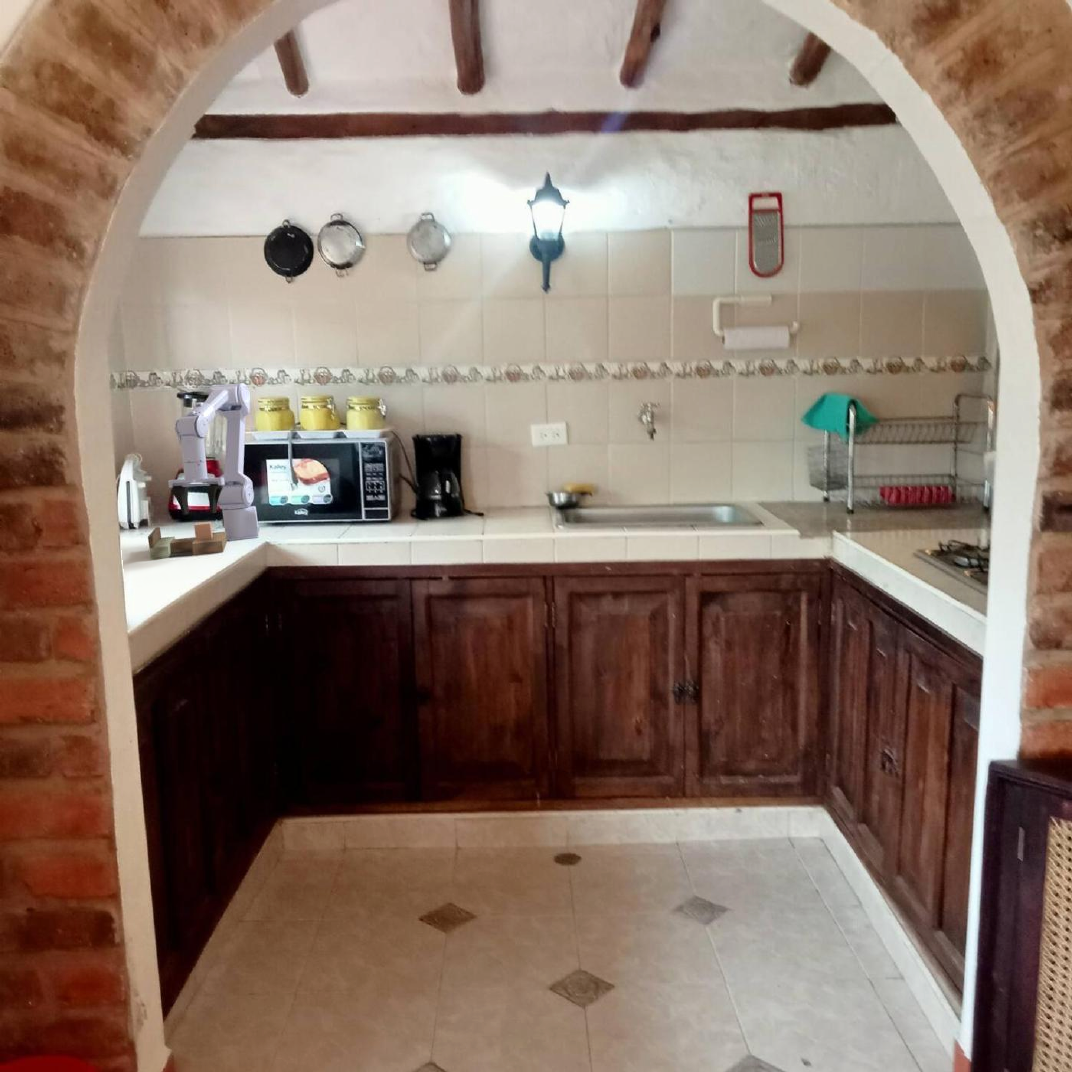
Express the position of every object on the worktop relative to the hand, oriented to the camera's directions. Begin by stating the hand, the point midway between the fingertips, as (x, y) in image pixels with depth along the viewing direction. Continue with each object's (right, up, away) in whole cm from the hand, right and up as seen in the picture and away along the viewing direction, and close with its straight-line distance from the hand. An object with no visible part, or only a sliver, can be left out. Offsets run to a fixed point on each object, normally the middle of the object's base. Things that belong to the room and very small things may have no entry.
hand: (199, 513), depth 249 cm
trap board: (-5, -10, +6) cm, 12 cm away
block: (-1, -6, +6) cm, 9 cm away
